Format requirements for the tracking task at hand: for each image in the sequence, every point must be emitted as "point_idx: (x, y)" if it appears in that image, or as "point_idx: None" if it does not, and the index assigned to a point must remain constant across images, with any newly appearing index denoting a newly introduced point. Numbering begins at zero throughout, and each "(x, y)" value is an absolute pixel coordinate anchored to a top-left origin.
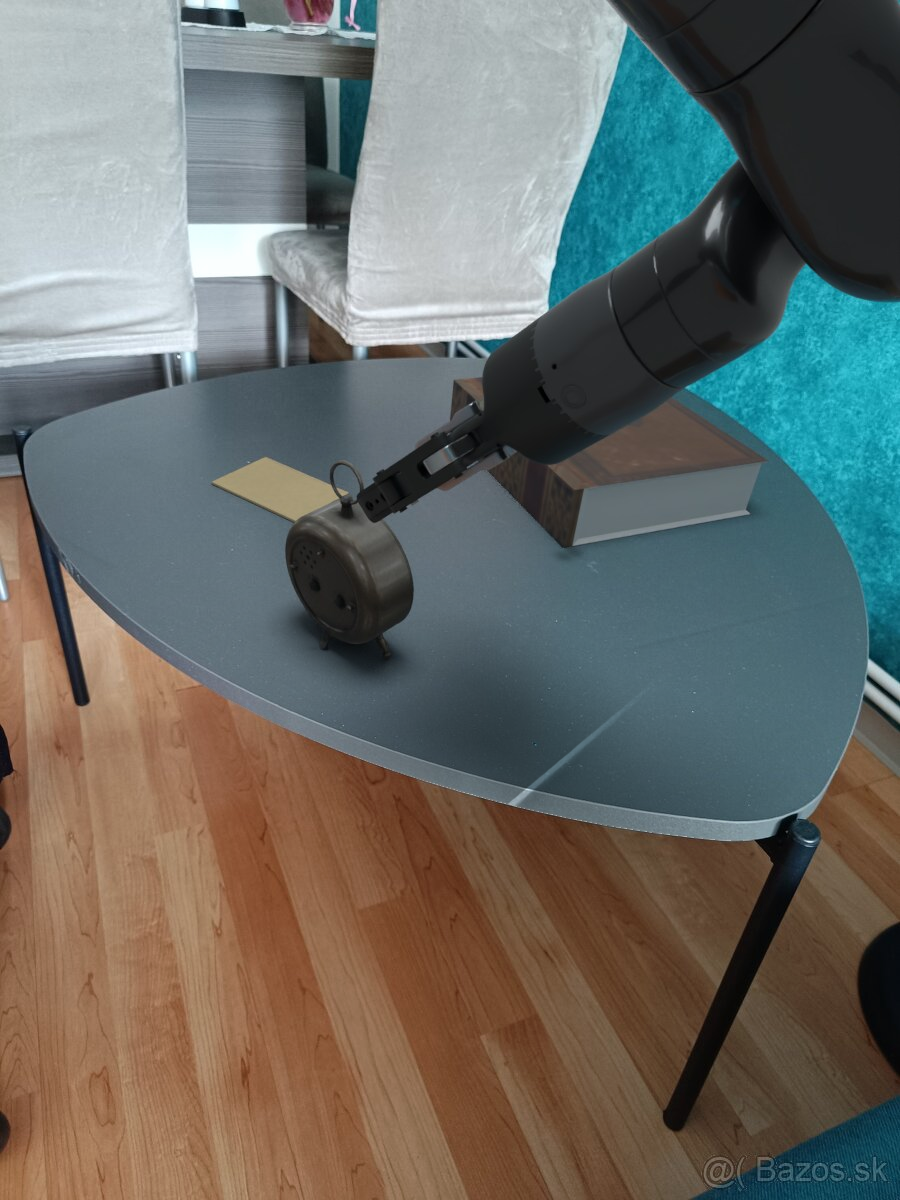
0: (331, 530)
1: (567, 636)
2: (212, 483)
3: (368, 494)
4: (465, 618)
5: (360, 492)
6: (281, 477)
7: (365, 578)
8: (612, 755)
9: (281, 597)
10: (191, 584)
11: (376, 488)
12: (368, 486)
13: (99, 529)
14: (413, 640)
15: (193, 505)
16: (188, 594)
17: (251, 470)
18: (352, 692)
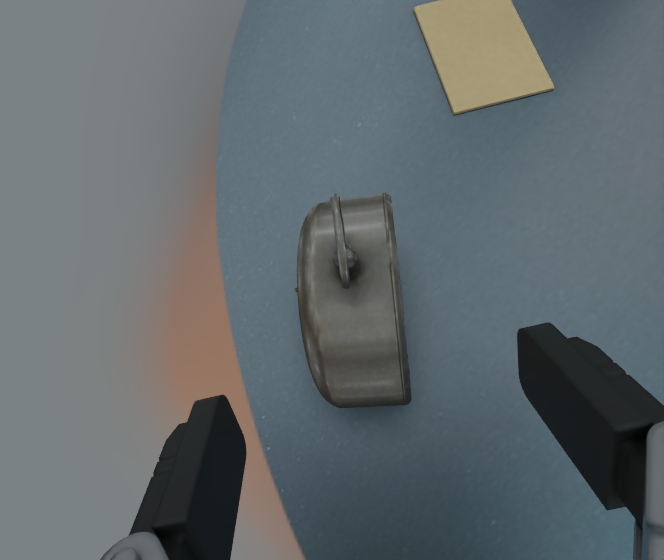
0: (304, 287)
1: None
2: (413, 9)
3: (156, 470)
4: None
5: (191, 411)
6: (493, 27)
7: (318, 379)
8: None
9: None
10: (288, 157)
11: (142, 503)
12: (182, 437)
13: (270, 39)
14: (432, 381)
15: (372, 37)
16: (276, 170)
17: (468, 2)
18: (311, 410)
